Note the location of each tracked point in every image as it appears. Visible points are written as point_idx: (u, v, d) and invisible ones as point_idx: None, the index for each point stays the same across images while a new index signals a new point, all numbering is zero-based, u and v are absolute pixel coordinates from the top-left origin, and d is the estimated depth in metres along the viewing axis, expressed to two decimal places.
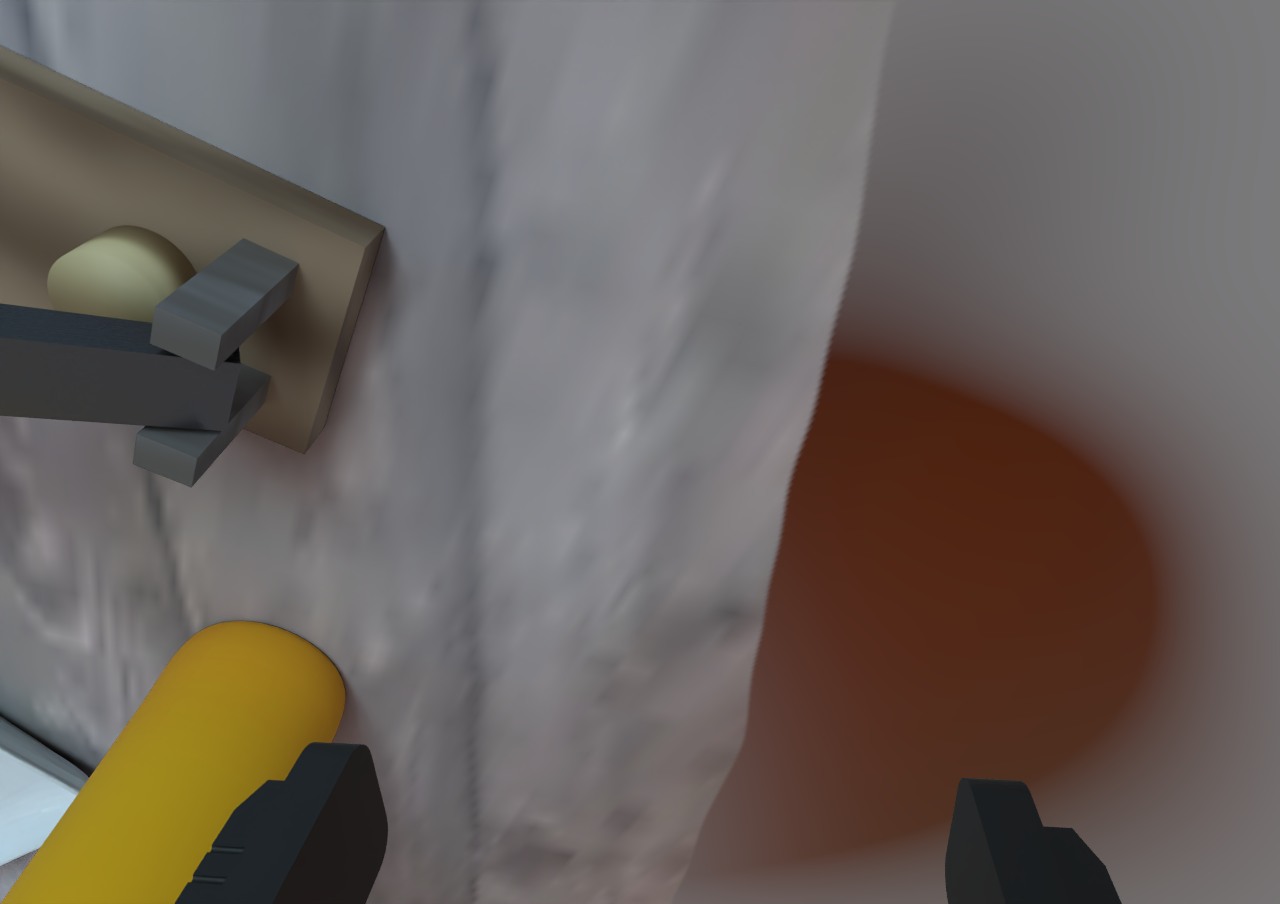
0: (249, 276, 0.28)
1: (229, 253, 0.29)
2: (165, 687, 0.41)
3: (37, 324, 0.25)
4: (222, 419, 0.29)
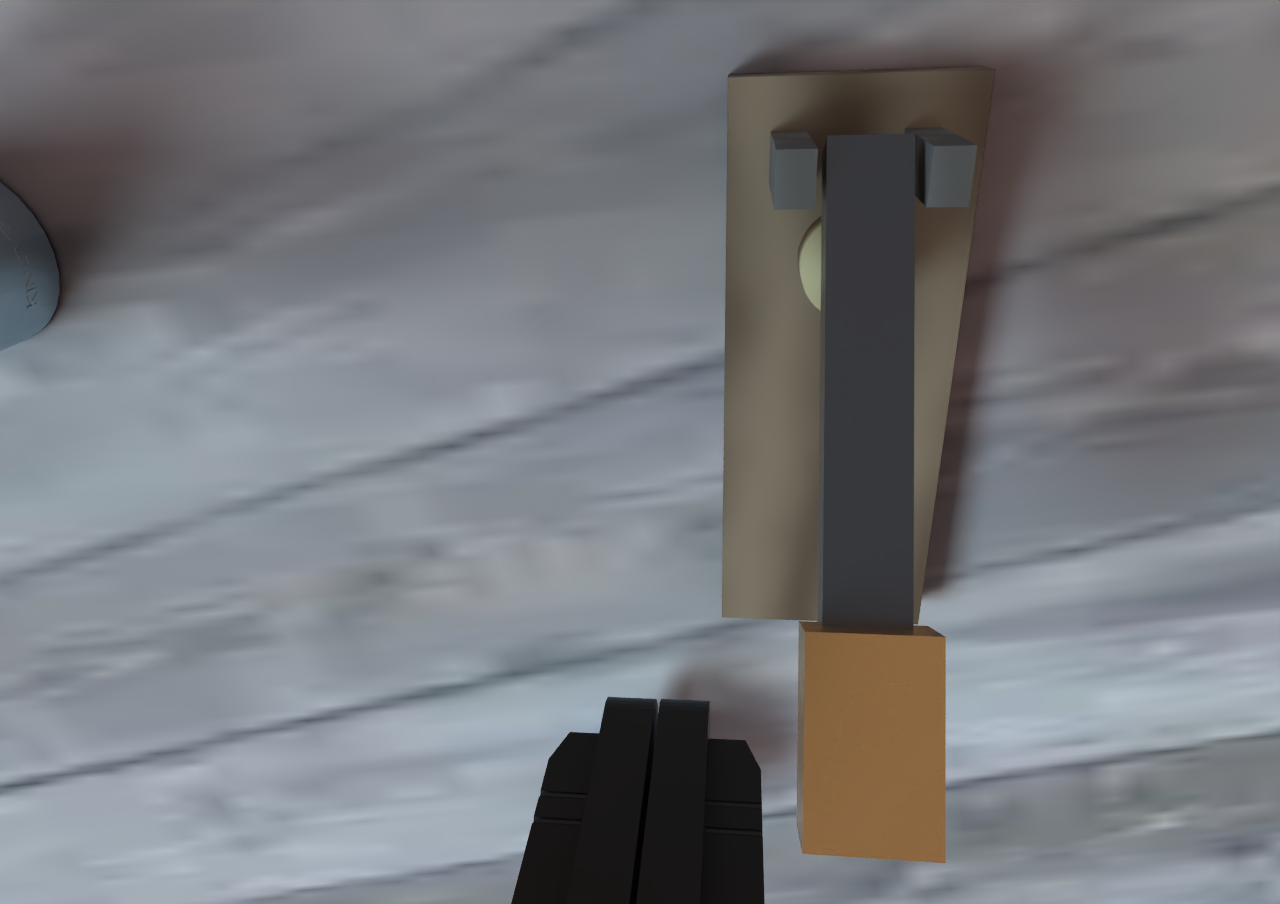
0: (771, 159, 0.32)
1: None
2: None
3: (823, 295, 0.30)
4: (899, 139, 0.30)
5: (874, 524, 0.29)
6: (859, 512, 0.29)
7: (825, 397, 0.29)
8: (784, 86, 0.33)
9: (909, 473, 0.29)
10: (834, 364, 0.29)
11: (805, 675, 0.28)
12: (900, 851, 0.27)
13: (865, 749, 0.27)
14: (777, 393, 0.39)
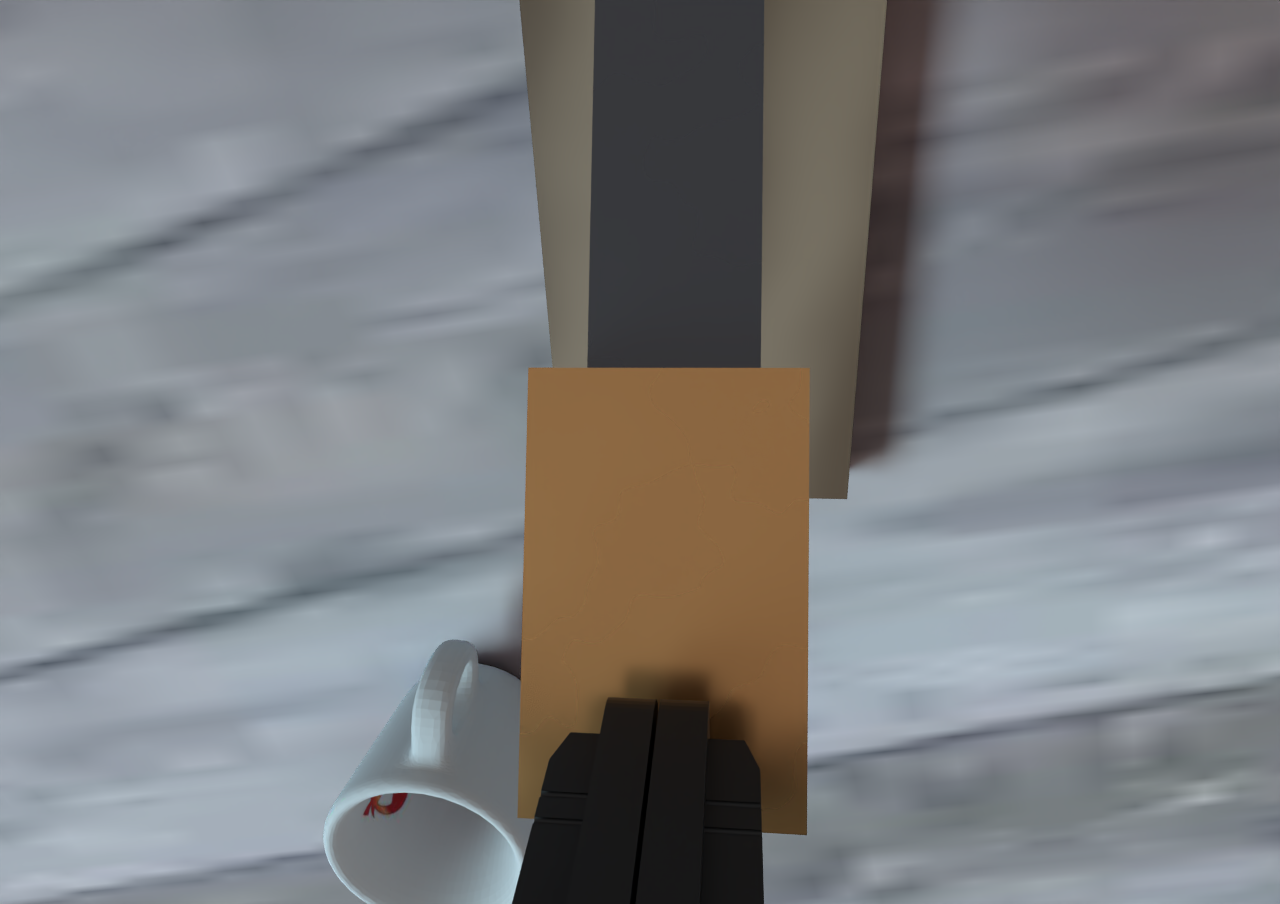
0: None
1: None
2: None
3: None
4: None
5: (687, 181, 0.15)
6: (659, 159, 0.15)
7: None
8: None
9: (755, 82, 0.15)
10: None
11: (528, 455, 0.13)
12: None
13: (645, 602, 0.13)
14: None
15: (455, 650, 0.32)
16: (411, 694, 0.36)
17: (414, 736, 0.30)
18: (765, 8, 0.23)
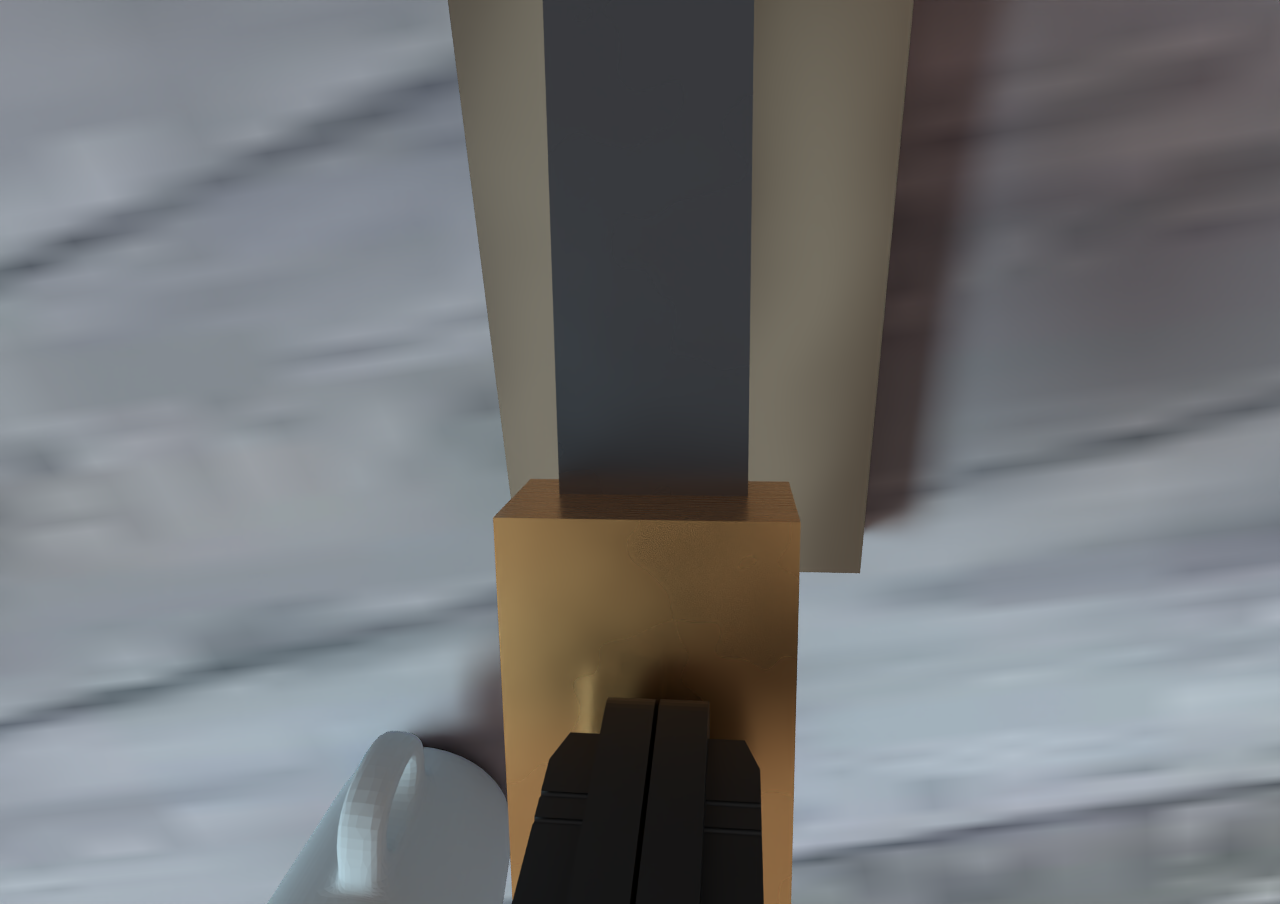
0: None
1: None
2: None
3: None
4: None
5: (664, 269, 0.13)
6: (630, 243, 0.13)
7: None
8: None
9: (742, 145, 0.12)
10: None
11: (500, 608, 0.13)
12: None
13: None
14: None
15: (393, 748, 0.27)
16: (348, 788, 0.31)
17: (340, 859, 0.25)
18: None
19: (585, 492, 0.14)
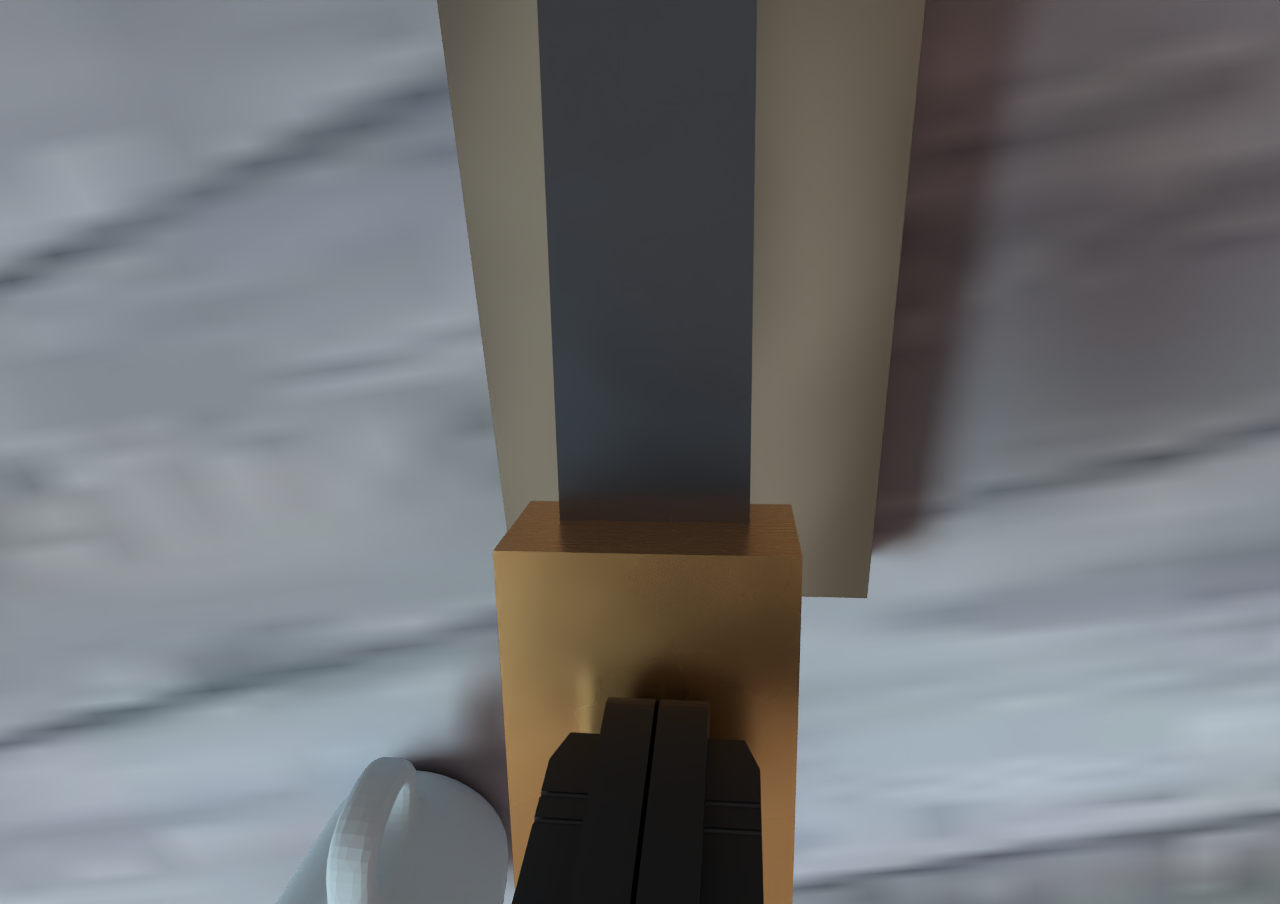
0: None
1: None
2: None
3: None
4: None
5: (663, 296, 0.13)
6: (630, 269, 0.12)
7: None
8: None
9: (744, 170, 0.12)
10: None
11: (501, 639, 0.13)
12: None
13: None
14: None
15: (384, 776, 0.26)
16: None
17: (329, 892, 0.24)
18: None
19: (586, 519, 0.14)
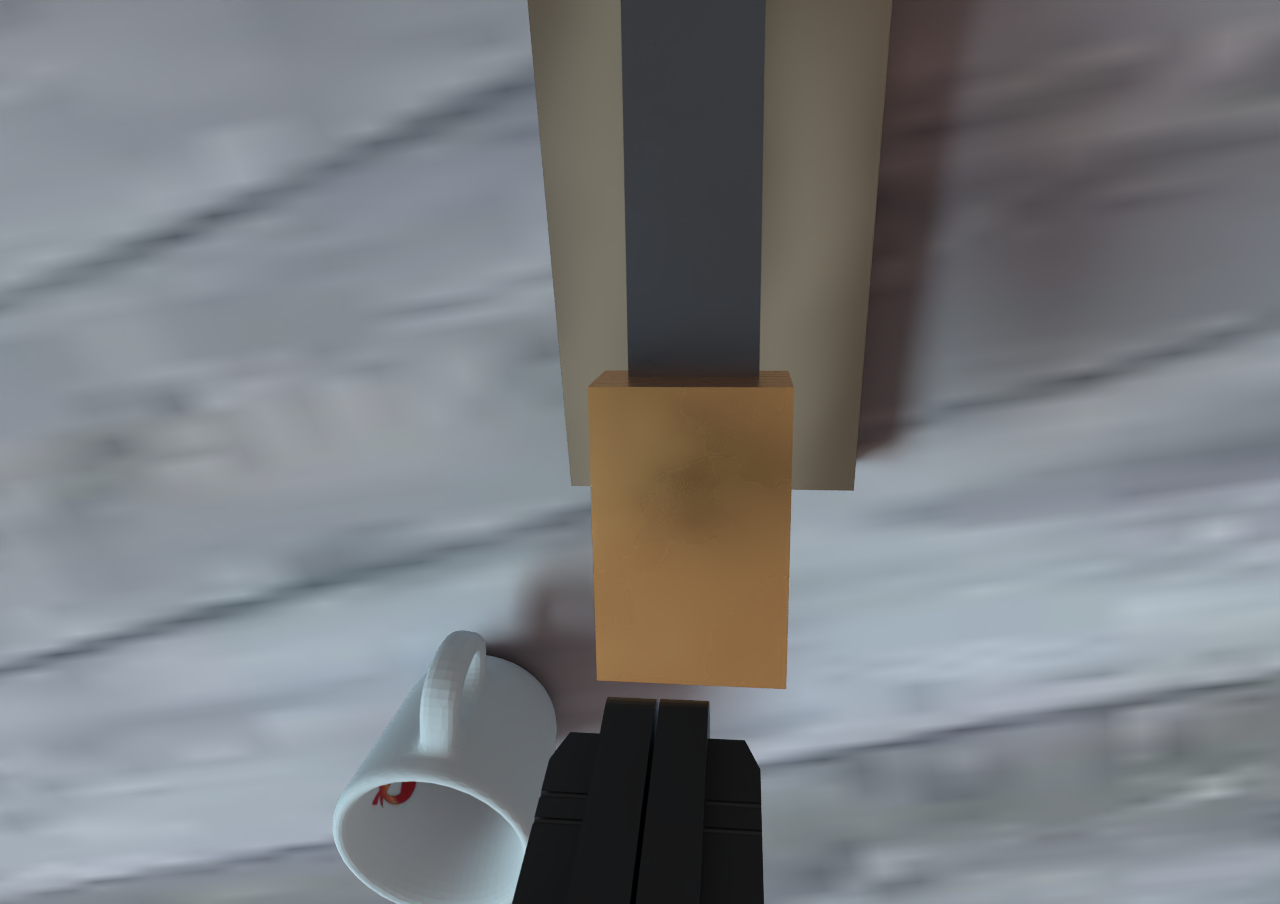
0: None
1: None
2: None
3: None
4: None
5: (702, 218, 0.19)
6: (679, 200, 0.19)
7: (622, 7, 0.18)
8: None
9: (756, 132, 0.18)
10: None
11: (591, 449, 0.19)
12: (726, 676, 0.20)
13: (678, 548, 0.19)
14: (617, 105, 0.25)
15: (463, 640, 0.32)
16: (420, 685, 0.36)
17: (422, 725, 0.31)
18: None
19: (646, 375, 0.20)
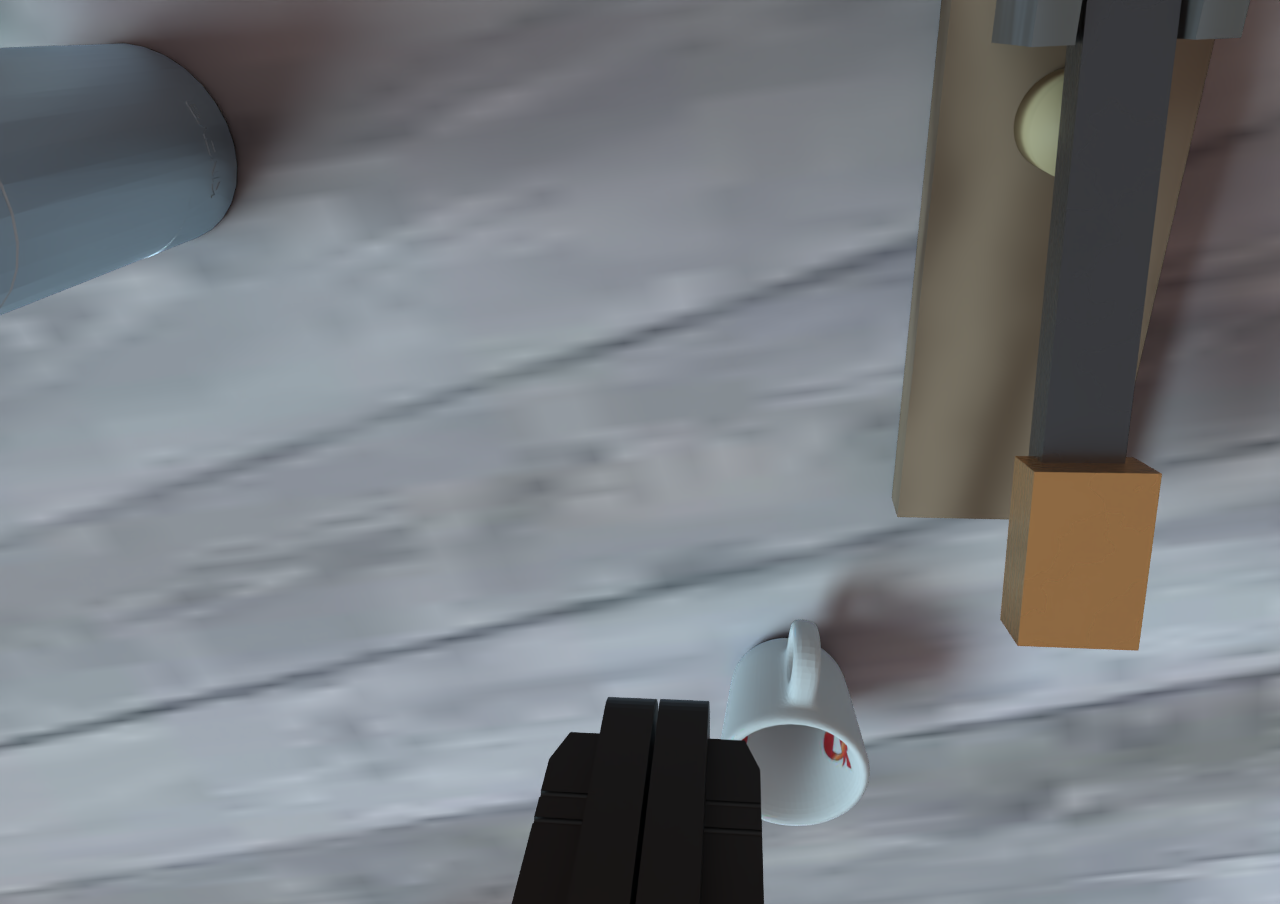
0: (1009, 7, 0.32)
1: (999, 39, 0.33)
2: None
3: (1064, 146, 0.31)
4: None
5: (1098, 372, 0.32)
6: (1086, 361, 0.32)
7: (1063, 254, 0.31)
8: None
9: (1137, 325, 0.31)
10: (1074, 221, 0.31)
11: (1031, 508, 0.32)
12: (1101, 642, 0.33)
13: (1079, 566, 0.32)
14: (978, 272, 0.38)
15: (810, 626, 0.45)
16: (753, 660, 0.49)
17: (795, 685, 0.44)
18: None
19: (1053, 462, 0.33)
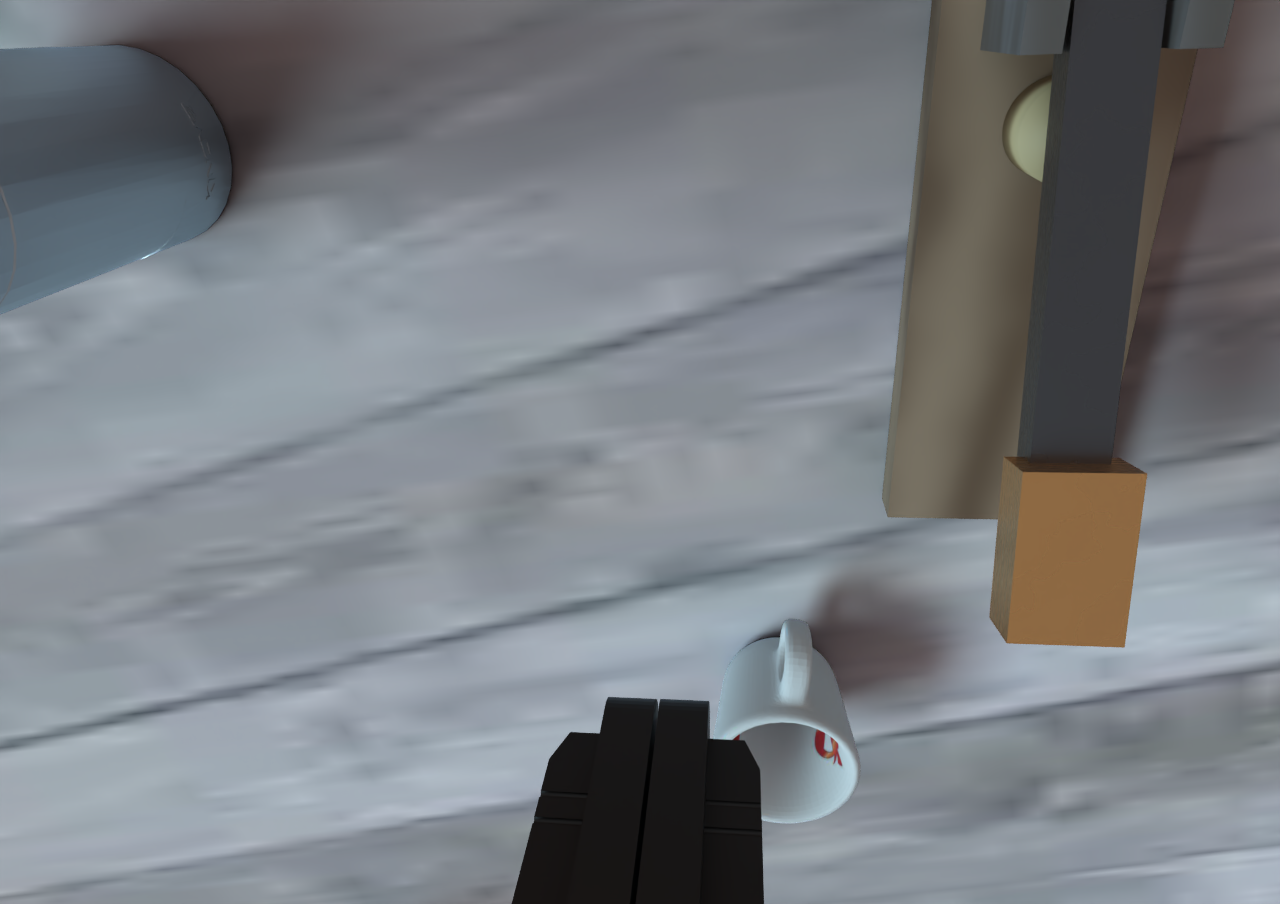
0: (998, 16, 0.32)
1: (988, 47, 0.33)
2: None
3: (1051, 153, 0.31)
4: None
5: (1085, 374, 0.32)
6: (1073, 363, 0.32)
7: (1051, 258, 0.31)
8: None
9: (1123, 327, 0.32)
10: (1062, 226, 0.31)
11: (1020, 507, 0.32)
12: (1088, 640, 0.33)
13: (1067, 564, 0.33)
14: (967, 275, 0.39)
15: (802, 625, 0.46)
16: (745, 659, 0.49)
17: (787, 684, 0.44)
18: None
19: (1041, 462, 0.33)
